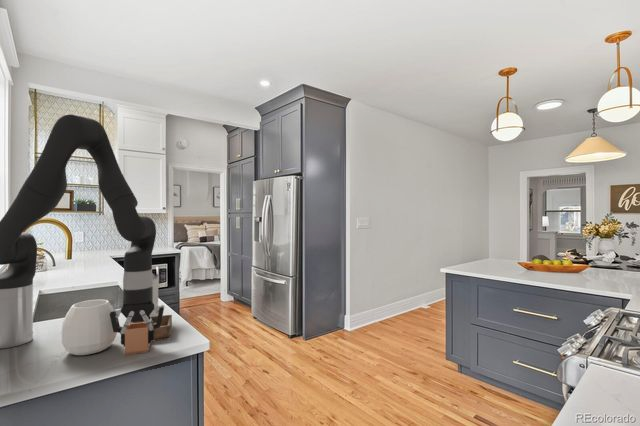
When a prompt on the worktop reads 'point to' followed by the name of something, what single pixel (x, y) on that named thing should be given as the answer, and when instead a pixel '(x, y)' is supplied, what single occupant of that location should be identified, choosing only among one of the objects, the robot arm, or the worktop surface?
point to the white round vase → (88, 327)
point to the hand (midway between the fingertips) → (137, 343)
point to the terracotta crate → (136, 338)
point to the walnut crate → (161, 327)
